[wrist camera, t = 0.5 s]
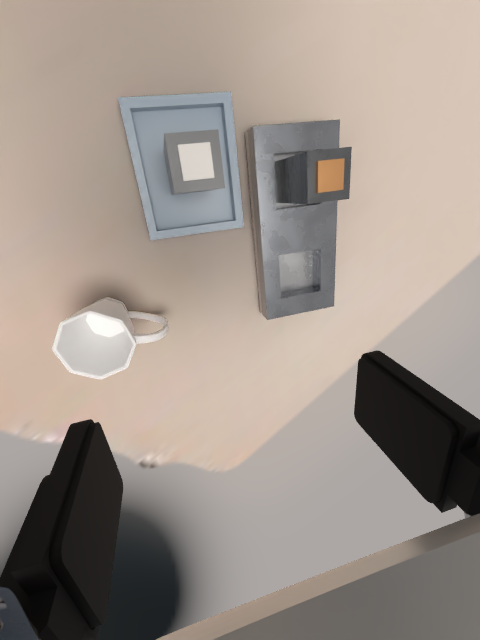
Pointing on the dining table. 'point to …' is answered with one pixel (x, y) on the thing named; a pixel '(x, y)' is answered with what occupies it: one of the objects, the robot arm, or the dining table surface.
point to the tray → (151, 172)
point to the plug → (193, 161)
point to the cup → (102, 338)
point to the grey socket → (296, 212)
